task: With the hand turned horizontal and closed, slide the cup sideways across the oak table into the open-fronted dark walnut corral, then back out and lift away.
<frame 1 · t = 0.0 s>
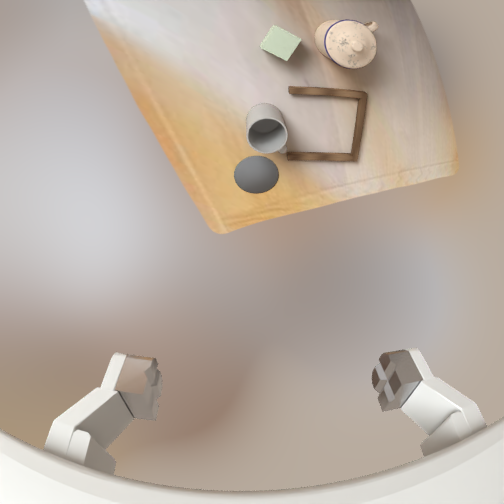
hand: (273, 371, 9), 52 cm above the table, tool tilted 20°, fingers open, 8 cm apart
cup: (268, 123, 53), on the table
corral: (321, 123, 53), on the table
teacup with lid: (341, 36, 39), on the table
slate coaster: (256, 174, 63), on the table
sage box: (278, 41, 40), on the table
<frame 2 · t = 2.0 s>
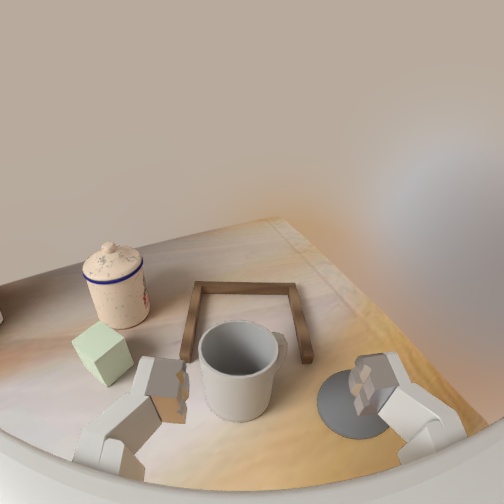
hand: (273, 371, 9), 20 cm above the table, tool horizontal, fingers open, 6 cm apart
cup: (247, 392, 30), on the table
corral: (245, 326, 39), on the table
teacup with lid: (121, 307, 41), on the table
slate coaster: (357, 404, 28), on the table
sage box: (109, 366, 31), on the table
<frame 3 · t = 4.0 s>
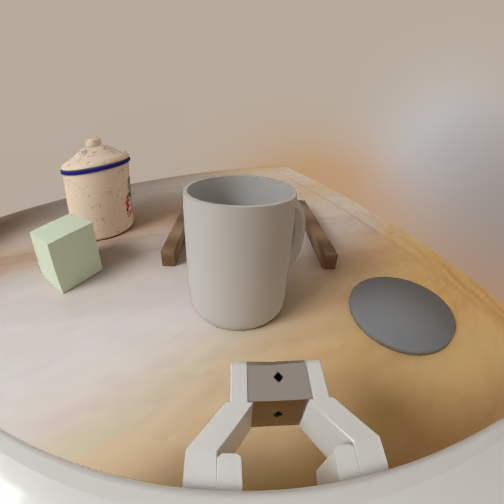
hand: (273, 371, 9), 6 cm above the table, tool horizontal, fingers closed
cup: (251, 296, 23), on the table
corral: (248, 234, 32), on the table
teacup with lid: (101, 225, 34), on the table
slate coaster: (403, 313, 21), on the table
sage box: (71, 273, 24), on the table
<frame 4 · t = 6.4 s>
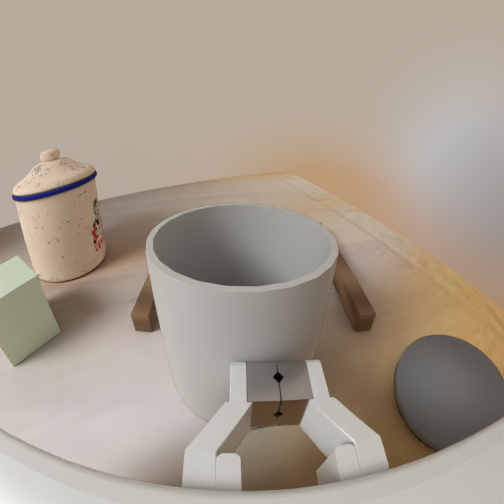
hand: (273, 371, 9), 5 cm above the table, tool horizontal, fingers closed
cup: (258, 369, 16), on the table, touching gripper
corral: (251, 276, 24), on the table
teacup with lid: (68, 257, 26), on the table
slate coaster: (456, 391, 13), on the table
sage box: (25, 333, 16), on the table
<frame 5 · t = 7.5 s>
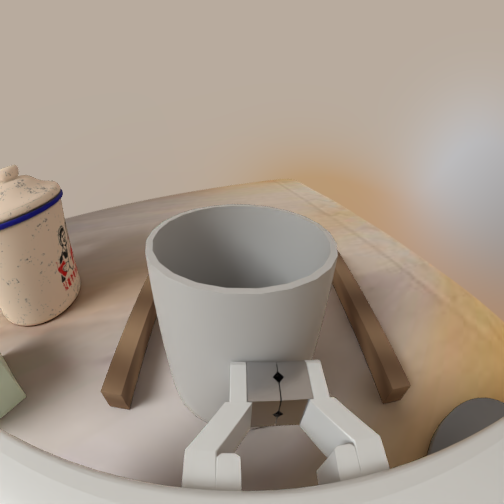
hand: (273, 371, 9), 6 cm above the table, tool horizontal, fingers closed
cup: (257, 370, 16), on the table, touching gripper
corral: (254, 328, 19), on the table
teacup with lid: (40, 290, 21), on the table
slate coaster: (488, 465, 7), on the table
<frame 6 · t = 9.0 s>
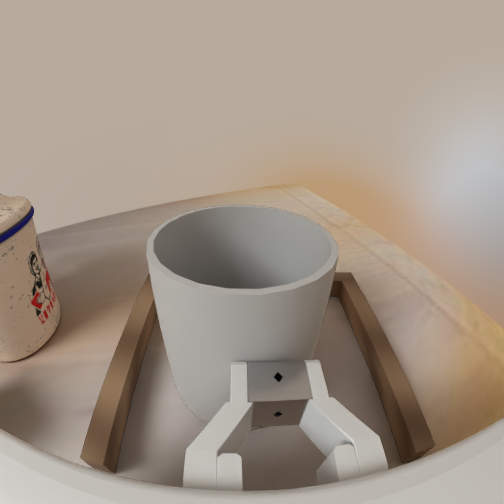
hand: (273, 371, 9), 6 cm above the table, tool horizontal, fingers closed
cup: (258, 370, 16), on the table, touching gripper
corral: (257, 375, 15), on the table
teacup with lid: (19, 317, 17), on the table
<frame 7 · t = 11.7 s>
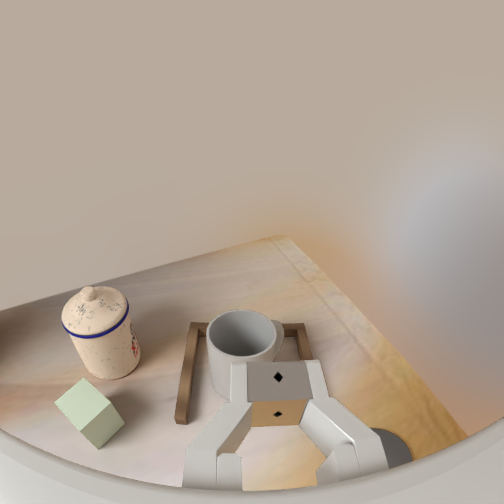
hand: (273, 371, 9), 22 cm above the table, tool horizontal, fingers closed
cup: (249, 376, 33), on the table
corral: (248, 379, 33), on the table
teacup with lid: (109, 351, 35), on the table
slate coaster: (371, 466, 21), on the table
sage box: (98, 424, 24), on the table
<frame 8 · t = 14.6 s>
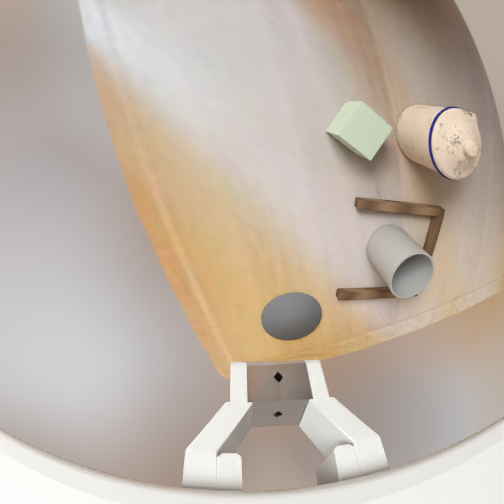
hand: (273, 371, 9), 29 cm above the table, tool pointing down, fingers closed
cup: (388, 250, 41), on the table
corral: (385, 250, 41), on the table
teacup with lid: (425, 128, 32), on the table
slate coaster: (291, 316, 46), on the table
sage box: (351, 127, 32), on the table
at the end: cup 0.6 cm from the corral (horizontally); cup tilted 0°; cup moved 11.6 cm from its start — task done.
